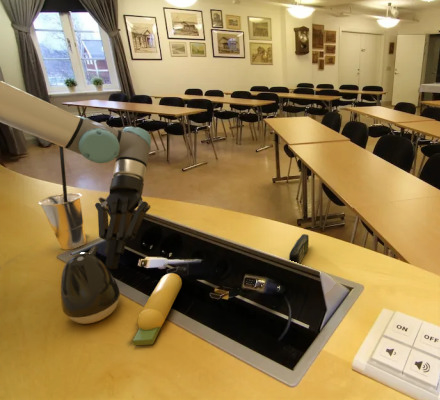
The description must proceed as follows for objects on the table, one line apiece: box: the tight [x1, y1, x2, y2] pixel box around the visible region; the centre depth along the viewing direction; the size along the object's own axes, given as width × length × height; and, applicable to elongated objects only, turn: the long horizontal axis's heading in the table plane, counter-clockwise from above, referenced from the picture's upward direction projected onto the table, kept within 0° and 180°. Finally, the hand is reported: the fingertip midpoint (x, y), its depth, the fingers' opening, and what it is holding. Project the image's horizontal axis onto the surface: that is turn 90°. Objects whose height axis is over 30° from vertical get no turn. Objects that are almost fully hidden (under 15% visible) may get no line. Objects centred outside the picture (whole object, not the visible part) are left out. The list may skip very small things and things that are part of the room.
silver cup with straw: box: [37, 145, 87, 251], centre depth 95 cm, size 11×11×30 cm
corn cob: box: [132, 272, 183, 346], centre depth 70 cm, size 5×20×5 cm, turn 6°
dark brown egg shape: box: [59, 245, 121, 325], centre depth 68 cm, size 10×10×15 cm
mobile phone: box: [288, 233, 310, 264], centre depth 93 cm, size 5×3×15 cm
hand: (111, 267), depth 77 cm, fingers closed
